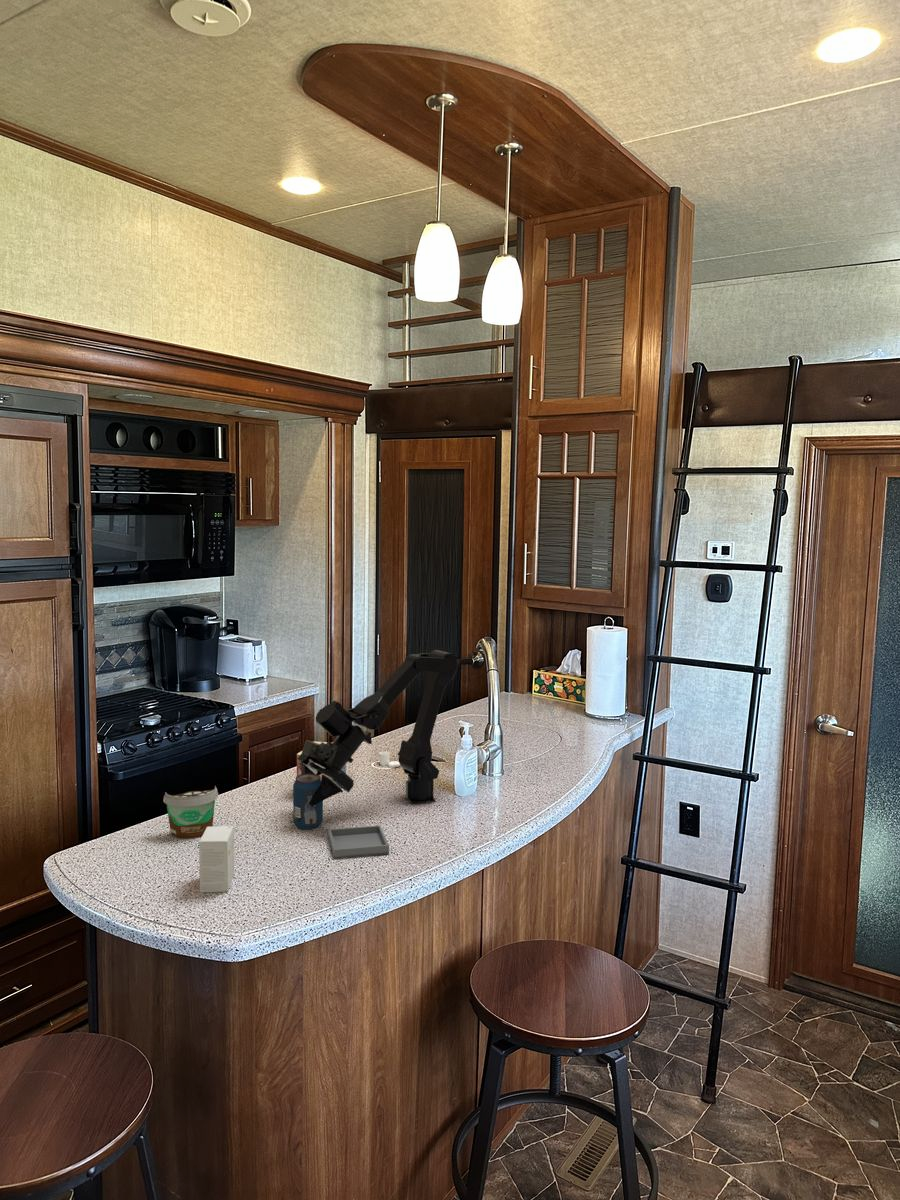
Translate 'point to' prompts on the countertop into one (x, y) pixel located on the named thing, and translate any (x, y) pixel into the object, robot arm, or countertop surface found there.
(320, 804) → the soda can
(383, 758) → the teacup and saucer
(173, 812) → the food container
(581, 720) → the countertop surface
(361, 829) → the tray
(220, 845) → the small box
